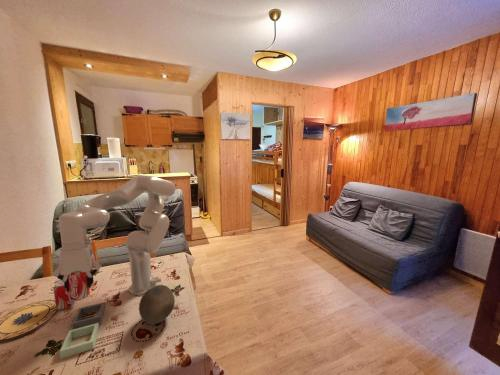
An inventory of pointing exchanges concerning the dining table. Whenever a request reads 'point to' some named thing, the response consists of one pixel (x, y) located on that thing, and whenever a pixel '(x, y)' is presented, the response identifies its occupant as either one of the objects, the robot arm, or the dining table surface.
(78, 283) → the soda can
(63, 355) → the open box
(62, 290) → the soda can
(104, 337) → the dining table surface
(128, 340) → the dining table surface
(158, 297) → the cantaloupe
